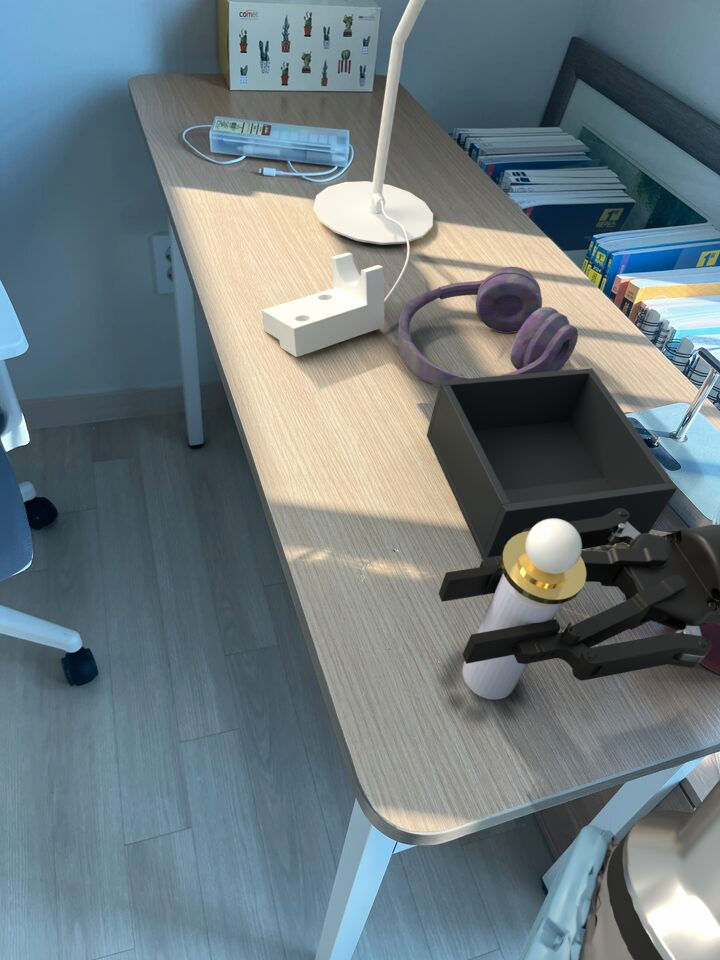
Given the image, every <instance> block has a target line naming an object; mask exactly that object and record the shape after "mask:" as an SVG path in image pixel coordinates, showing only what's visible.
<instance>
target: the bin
mask: <svg viewBox="0 0 720 960" xmlns="http://www.w3.org/2000/svg"><path fill="white" fill-rule="evenodd" d="M428 424H429V425H428V428H427V432H426V437H427V439H428V442H429V444H430V446H431V448H432V450H433V453H434V456H435V457H436V460H437V462H438V464H439V466H440V469H441V470H442V473H443V475H444V477H445V480H446V481H447V485H448V486H449V488H450V491H451V492H452V495H453V497H454V500H455V501H456V504H457V507H458V508H459V510H460V513H461V515H462V517H463V519H464V521H465V524H466V526H467V528H468V531H469V533H470V535H471V537H472V539H473V541H474V543H475V546H476V548H477V550H478V552H479V554H480V557H481V559H482V560H484V559H485V558H487V557H495V556H501V555H502V552H503V550H504V547H505V546H506V544H507V542H508V541H509V540H510V539H511V538H512V537H514V536H515V535H517V534H519V533H522V531H523V530H524V529H526V528H532V527H533V526H535V525H536V524H537V523H538V522H540V521H543V520H545V519H551V518H556V519H562V520H565V521H567V522H571V521H578V520H584V519H591V518H598V517H604V516H605V515H607V514H609V513H610V512H612V511H614V510H616V509H617V508H623V509H625V510H627V511H628V512H629V514H630V517H629V519H628V520H627V522H628V523H629V524H631V525H632V526H633V527H634V528H635V529H636V530H637V531H638V532H640V533H641V534H642V533H650V532H651V530H652V529H653V528H654V526H655V525H656V523H657V521H658V520H659V518H660V516H661V515H662V514H663V512H664V510H665V509H666V507H667V506H668V504H669V503H670V501H671V499H673V496H674V495H675V493H676V492H677V490H678V487H677V485H676V484H675V482H674V481H673V479H672V478H671V476H670V475H669V474H668V472H667V471H666V470H665V469H664V467H663V465H662V464H661V463H660V462H659V460H658V458H657V457H656V455H655V454H654V453H653V451H652V450H651V449H650V447H649V446H648V444H647V443H646V442H645V440H644V439H643V437H642V436H641V435H640V433H639V432H638V430H637V429H636V427H635V426H634V425H633V423H632V422H631V420H630V419H629V418H628V416H627V414H626V413H625V412H624V411H623V409H622V408H621V406H620V405H619V404H618V402H617V401H616V399H615V398H614V397H613V395H612V394H611V392H610V391H609V389H608V388H607V387H606V385H605V383H603V381H602V380H601V378H600V377H599V376H598V374H597V373H596V372H595V370H594V368H593V367H589V368H587V367H586V368H577V369H566V370H565V369H564V370H560V371H551V372H540V373H528V374H516V375H504V376H500V375H493V376H482V377H469V378H468V379H456V380H444V381H440V385H439V386H438V389H437V393H436V397H435V401H434V405H433V409H432V413H431V416H430V421H429V423H428ZM604 546H610V545H609V544H608V543H606V544H604V545H602V546H601V547H604Z"/></svg>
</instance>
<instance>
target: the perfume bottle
mask: <svg viewBox="0 0 720 960" xmlns="http://www.w3.org/2000/svg"><path fill="white" fill-rule="evenodd" d="M582 550H583V549H582V541H581V537H580V535H579V533H578V531H577V530H576V529H575V527H574V526H572V525H571V524H570V523H568V522H567V521H565V520H562V519H556V518H551V519H545V520H543V521H540V522H538V523H537V524H536V525H535V526H533V527H532V528H531V530H530V531H526V532H522V533H519V534H517V535H515V536H514V537H512V538H511V539H510V540H509V541H508V542H507V544H506V546H505V547H504V550H503V552H502V556H501V567H502V571H503V574H502V577H501V579H500V581H499V583H498V586H497V588H496V590H495V593H493V595H492V597H491V600H490V602H489V604H488V606H487V608H486V611H485V614H484V615H483V618H482V620H481V622H480V623H479V627H478V628H477V632H476V633H482V632H487V631H493V630H499V629H504V628H510V627H515V626H521V625H526V624H532V623H540V622H545V621H549V620H554V619H555V618H556V616H557V613H558V612H559V611H560V609H561V607H562V605H563V604H565V603H567V602H570V601H571V600H573V599H574V598H576V597H577V596H578V595H579V593H580V592H581V590H582V589H583V587H584V585H585V583H586V582H585V580H586V568H585V564H584V561H583V560H582V558H581V552H582ZM501 567H500V568H501ZM500 568H499V569H500ZM493 575H494V574H493ZM492 578H493V576H492ZM492 578H491V580H492ZM491 580H490V582H491ZM489 585H490V583H489ZM489 585H488V587H489ZM488 587H487V589H488ZM486 592H487V591H486ZM485 594H486V593H485ZM486 595H487V594H486ZM528 665H529V664H520V663H517V661H516V658H515V656H514V655H510V656H505V657H500V658H494V659H489V660H484V661H479V662H473V663H468V664H466V662H465V660H464V662H463V664H462V677H463V680H464V683H466V685H467V687H468V688H469V690H471V691H472V692H473V693H475V694H476V695H477V696H479V697H481V698H484V699H488V700H501V699H505V698H506V697H508V696H509V695H510V694H512V692H513V691H514V690H515V688H516V686H517V685H518V683H519V680H520V679H521V677H522V675H523V674H524V672H525V670H526V668H527V667H528Z"/></svg>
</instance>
